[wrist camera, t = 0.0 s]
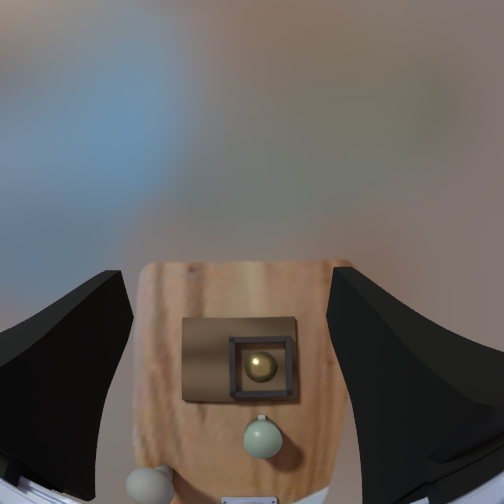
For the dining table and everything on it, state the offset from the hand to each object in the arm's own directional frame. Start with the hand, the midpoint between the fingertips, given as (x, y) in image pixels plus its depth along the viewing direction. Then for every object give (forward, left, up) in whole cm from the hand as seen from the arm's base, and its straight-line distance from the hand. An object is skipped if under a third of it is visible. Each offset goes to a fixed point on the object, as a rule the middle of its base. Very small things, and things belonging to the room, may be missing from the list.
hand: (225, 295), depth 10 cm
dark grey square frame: (-3, -2, -32) cm, 32 cm away
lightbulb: (-20, +12, -32) cm, 40 cm away
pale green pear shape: (-13, -2, -32) cm, 35 cm away
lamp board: (-2, +1, -32) cm, 32 cm away
